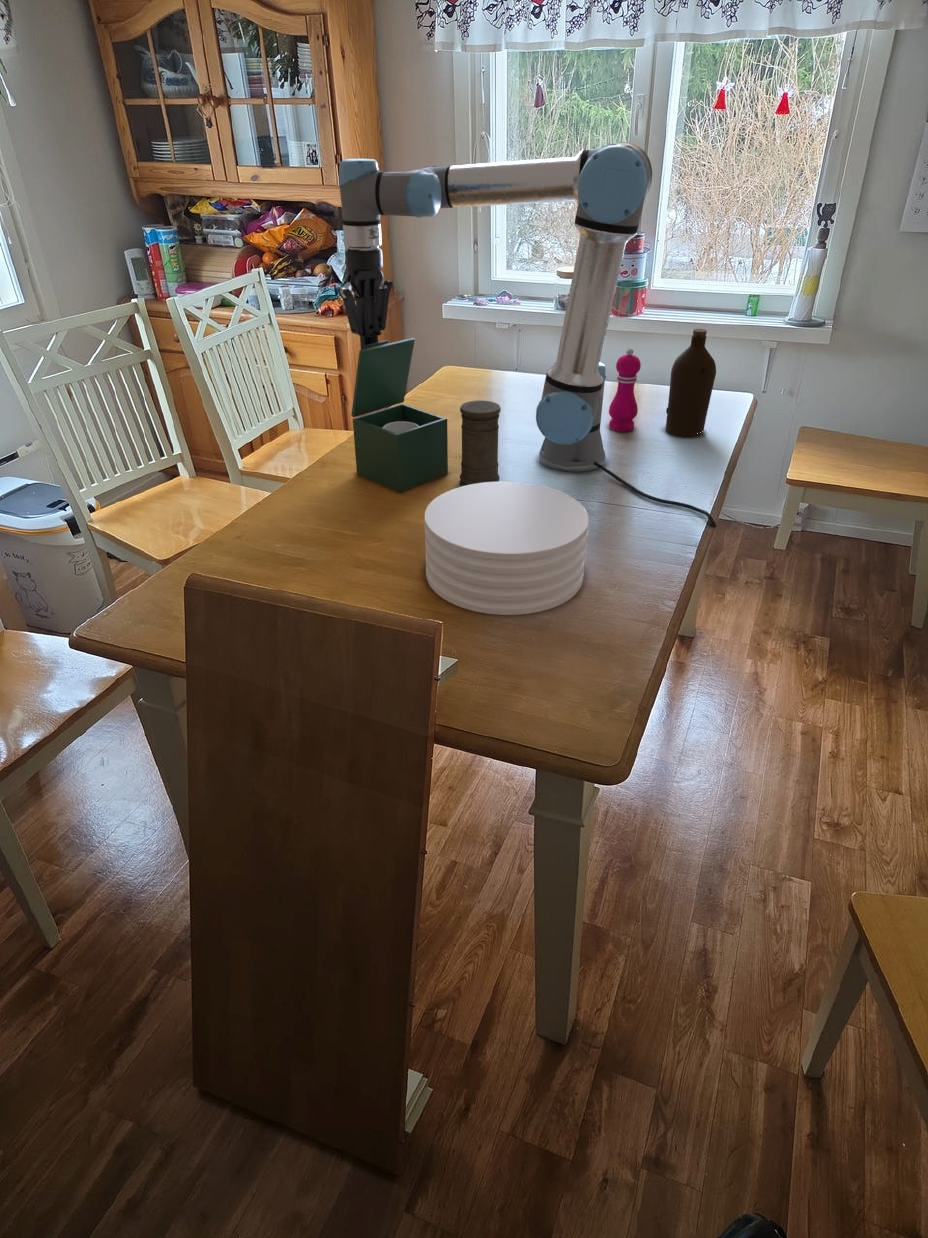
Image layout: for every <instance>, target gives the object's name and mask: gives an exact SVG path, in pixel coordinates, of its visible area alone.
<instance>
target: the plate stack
mask: <svg viewBox="0 0 928 1238" xmlns="http://www.w3.org/2000/svg"><path fill="white" fill-rule="evenodd" d="M423 518H424V538H425V540H424V541H425V542H424V548H425V549H424V550H425V565H426V566H425V577H426V581H427V583H428V585H429V587H430V588H431V590H433V592H434V593H435V594H436V595H438V596H439V597H440V598H441V599H443V600H445V601H446V602H447V603H450V604H452V605H454V606H457V607H459V608H462V609H465V610H468V611H472V612H476V613H482V614H487V615H496V616H497V615H498V616H518V615H529V614H535V613H540V612H545V611H547V610H551V609H553V608H556V607H558V606H561V605H563V604H564V603H566V602H568V601H569V600H571V599H573V597H574V596H575V595H576V594H577V593H578V592H579V590H580V589H581V587H582V585H583V582H584V575H585V564H586V555H587V544H588V543H587V542H588V533H589V532H588V531H589V526H590V525H589V524H590V516H589V513H588V511H587V509H586V508H585V506H584V505H583V504H581V503H580V502H579V501H578V500H577V499H576V498H574V497H572V496H571V495H569V494H566V493H565V492H563V491H560V490H558V489H555V488H551V487H548V486H545V485H539V484H536V483H535V484H534V483H529V482H520V481H500V482H484V483H476V484H470V485H466V486H462V487H460V486H459V487H456V488H452V489H450V490H447V491H445V492H443V493H441V494H439V495H438V496H436V497H435V498H433V499H432V501H430V502H429V503H428V504H427V506H426V508H425V511H424V517H423Z"/></svg>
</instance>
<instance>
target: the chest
mask: <svg viewBox="0 0 928 1238" xmlns="http://www.w3.org/2000/svg"><path fill="white" fill-rule="evenodd" d="M399 421H405V422H412V423H415V424H417V425H418V426H419V427H416V428H413V429H410V430H407V431H404V432H401V433H398V434H397V433H394V432H392V431H389V430H386V429H384V428H382V427H383V426H384V425H386V424H388V423H391V422H399ZM352 428H353V429H352V431H353V442H354V443H353V444H354V454H355V457H354V458H355V467H356V475H359V476H362V477H363V478H366V479H368V480H371V481H372V482H375V483H376V484H380V485H382V486H384V487H386V488H388V489H391V490H393V491H395V492H397V493H402V492H405V491H407V490H411V489H412V488H415V487H417V486H420V485H423V484H425V483H428V482H431V481H433V480H435V479H438V478H441V477H443V476H445V475H446V476H447V475H448V474H449V466H448V465H449V461H448V460H449V458H448V456H449V452H448V451H449V450H448V449H449V448H448V447H449V446H448V445H449V443H448V441H449V440H448V439H449V438H448V418H446V417H444V416H441V415H437V414H435V413H432V412H428V411H426V410H423V409H421V408H416V407H414V406H411V405H408V404H405V403H399V404H396V405H393V406H389V407H386V408H383V409H379V410H376V411H373V412H369V413H366V414H363V415H360V416H356V417H352Z"/></svg>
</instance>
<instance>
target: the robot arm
mask: <svg viewBox="0 0 928 1238" xmlns="http://www.w3.org/2000/svg"><path fill="white" fill-rule="evenodd" d="M338 174H339V185H338V189H339V195H340V204H341V206H340V207H341V215H342V217H341V218H342V235H343V245H344V246H345V247H346V248H345V250H344V258H345V259H344V260H345V267H346V270H347V277H346V283H345V284H344V286H342V287H338V289H337V293H338V294H339V296H340V298H341V299H342V302H343V306H344V310H345V313H346V317H347V321H348V324H349V328H350V331H351V334H354V335H358V336H359V343H360V344H359V345H360V350H363V346H364V345H367V344H372V343H376V342H379V336H381V335H382V331H385V330H386V326H387V319H388V310H389V300H390V293H391V291H392V289H393V285H394V283H393V281H391V280H388V279H386V278H385V277H384V274H383V271H382V268H383V267H384V260H383V250H382V248H380V247H381V246H382V245H383V243H382V224H381V223H382V222H381V221H382V220H381V216H395V217H413V218H418V219H421V218H429V217H431V218H432V217H435V216H436V215H437V214H438V213H439V210H440V209H452V208H468V207H469V208H470V207H472V208H473V207H489V206H505V205H506V206H508V205H526V204H544V203H545V204H546V203H547V204H548V203H565V202H566V203H567V202H576V203H577V208H576V212H575V217H574V223H573V225H574V227H575V228H576V229H577V231H578V233H579V240H578V246H577V251H576V257H575V262H574V266H573V272H572V277H571V283H570V288H569V293H568V298H567V302H566V308H565V313H564V318H563V324H562V330H561V334H560V340H559V345H558V351H557V354H556V355H557V356H556V360H555V362H553V364H552V365H551V366H549V367H548V368H547V370H546V374H545V378H544V382H543V389H542V394H541V399H540V400H539V402H538V404H537V406H536V410H535V421H536V427H537V428H538V430H539V432H540V433H541V434H542V435H543V437H544V438H543V442H542V444H541V447H540V450H539V456H538V460H539V462H540V464H541V465H542V466H543V467H545V468H547V469H548V470H549V469H550V470H553V471H556V472H561V473H568V474H584V473H590V472H594V471H597V470H599V469H600V470H602V471H603V472H605V473H606V474H607V475H609V476H611V477H612V478H614V479H615V480H616V481H618V482H619V483H621V484H622V485H624V486H625V487H627V488H629V489H630V490H631V491H632V492H634V493H636V494H637V495H639V496H641V497H642V498H645V499H648V500H649V501H650V500H651V501H653V502H656V503H661V504H665V505H671V506H676V507H682V508H686V509H689V510H692V511H694V512H696V513H699V514H702V515H704V516H706V518H707V519H708V520H709V522H710V525H711V527H712V528H717V524H716V521H715V520H714V518H713V516H712V514H710V512H708V511H707V510H705V509H702V508H699V507H697V506H694V505H692V504H688V503H684V502H680V501H675V500H668V499H664V498H659V497H655V496H653V495H650V494H647V493H645V492H644V491H642V490H640V489H637V488H636V487H635V486H634V485H632V484H630V483H629V482H627V481H626V480H624V479H623V478H621V477H620V476H618V475H617V474H615V473H614V472H612V471H611V470H610V469H608V468H607V467H605V466H604V465H605V462H606V452H605V449H604V443H603V438H602V434H601V421H602V414H603V413H602V412H603V401H604V394H605V393H604V391H605V384H606V383H605V382H606V379H607V375H606V372H607V371H606V369H607V368H606V365H605V364H604V363H602V362H601V356H602V352H603V348H604V343H605V339H606V336H607V331H608V327H609V321H610V319H611V312H612V308H613V304H614V299H615V296H616V291H617V286H618V281H619V277H620V272H621V269H622V263H623V259H624V254H625V250H626V245H627V243H628V242H629V241H630V240H631V239H633V238H634V237H636V236H637V234H638V231H639V226H640V221H641V217H642V213H643V208H644V204H645V199H646V197H647V195H648V193H649V192H650V189H651V185H652V183H653V182H652V181H653V166H652V162H651V160H650V157H649V156H648V154H647V153H646V151H645V150H644V149H643V148H642V147H640V146H639V145H637V144H636V143H633V142H630V141H617V142H614V143H609V144H606V145H604V146H602V147H598V148H591V149H581V150H580V151H579V152H578V154H576V155H575V156H565V157H553V158H552V157H551V158H539V159H525V160H512V161H497V162H483V163H469V164H456V165H442V166H438V165H427V166H424V167H422V168H417V169H414V170H409V171H382V170H380V167H379V164H378V161H377V160H376V159H374V158H346V159H343V160H341V161H340V163H339V166H338Z"/></svg>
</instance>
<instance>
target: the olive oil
mask: <svg viewBox="0 0 928 1238" xmlns="http://www.w3.org/2000/svg"><path fill="white" fill-rule="evenodd" d="M707 332H708V330H707V329H705V328H694V329H693V330H692V335H691V340H690V345H689V346H688V347H687V348H686V349H685V350H684V351H683V352H681V353H680V354H679V355H678V356H677V357H676V358H675V360H674V362H673V364H672V367H671V372H670V378H669V379H670V381H669V390H668V391H669V392H668V402H667V407H666V409H665V413H666V420H665V421H666V422H665V432H666V433H667V434H669V435H671V436H674V437H677V438H684V439H685V438H687V439H688V438H689V439H690V438H698V437H700V436H702V435H703V434H704V431H705V426H706V420H707V415H708V411H709V408H710V407H709V406H710V402H711V397H712V393H713V389H714V383H715V380H716V376H717V365H716V361H715V359H714V358H713V356H712V354H711V353H709V351H708V350H707V348H706V342H707ZM702 431H703V432H702ZM700 432H701V433H700ZM697 433H698V434H697Z"/></svg>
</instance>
